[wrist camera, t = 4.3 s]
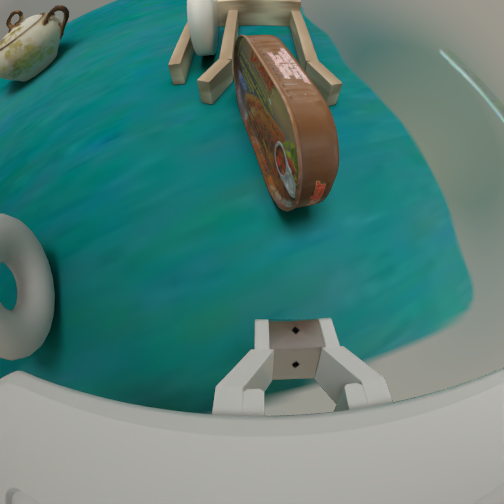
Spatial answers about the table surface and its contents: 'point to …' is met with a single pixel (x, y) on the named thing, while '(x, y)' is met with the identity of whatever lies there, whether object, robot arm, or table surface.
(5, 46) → the sugar bowl
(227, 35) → the rack
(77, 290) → the table surface
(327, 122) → the tin
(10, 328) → the donut
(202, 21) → the racked plate
